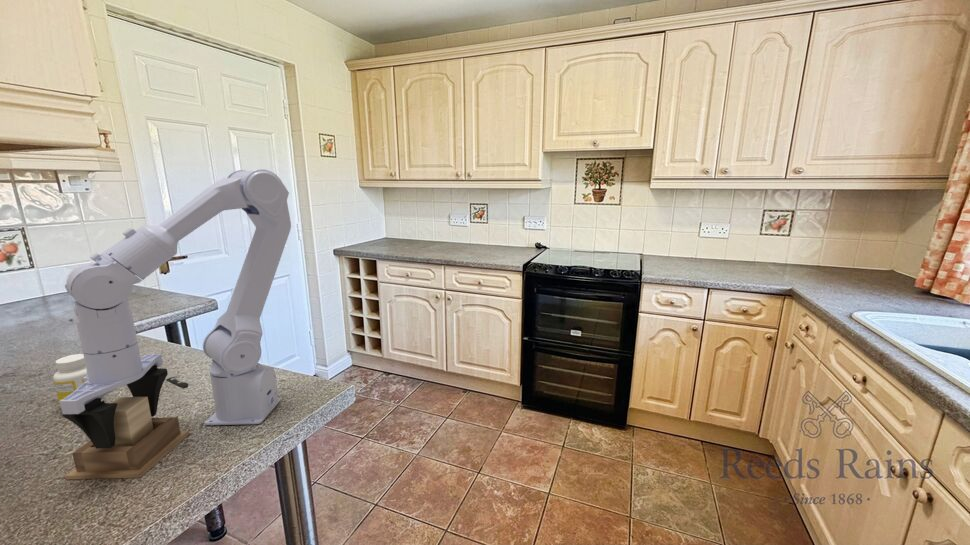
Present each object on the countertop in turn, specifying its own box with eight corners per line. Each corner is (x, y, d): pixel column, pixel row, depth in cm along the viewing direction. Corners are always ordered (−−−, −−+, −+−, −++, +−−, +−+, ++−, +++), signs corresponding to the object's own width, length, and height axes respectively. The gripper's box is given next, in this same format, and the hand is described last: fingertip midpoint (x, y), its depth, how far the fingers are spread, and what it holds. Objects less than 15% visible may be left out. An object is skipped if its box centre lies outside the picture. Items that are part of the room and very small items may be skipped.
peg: (156, 442, 61) (147, 396, 59) (135, 459, 57) (125, 411, 56) (129, 443, 61) (119, 397, 59) (106, 460, 57) (96, 412, 55)
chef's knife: (155, 365, 90) (139, 369, 87) (155, 360, 90) (139, 364, 87) (199, 384, 81) (183, 390, 79) (199, 379, 81) (182, 384, 78)
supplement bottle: (100, 396, 75) (90, 349, 73) (105, 406, 72) (94, 357, 70) (60, 407, 71) (48, 358, 69) (62, 419, 68) (50, 367, 66)
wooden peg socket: (189, 433, 64) (186, 414, 64) (140, 477, 55) (136, 455, 54) (126, 435, 64) (122, 415, 63) (65, 479, 54) (60, 457, 53)
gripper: (124, 328, 62) (139, 404, 65) (25, 369, 48) (49, 464, 51) (170, 328, 63) (183, 403, 66) (85, 368, 49) (106, 462, 51)
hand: (128, 430), depth 58 cm, fingers open, 7 cm apart
